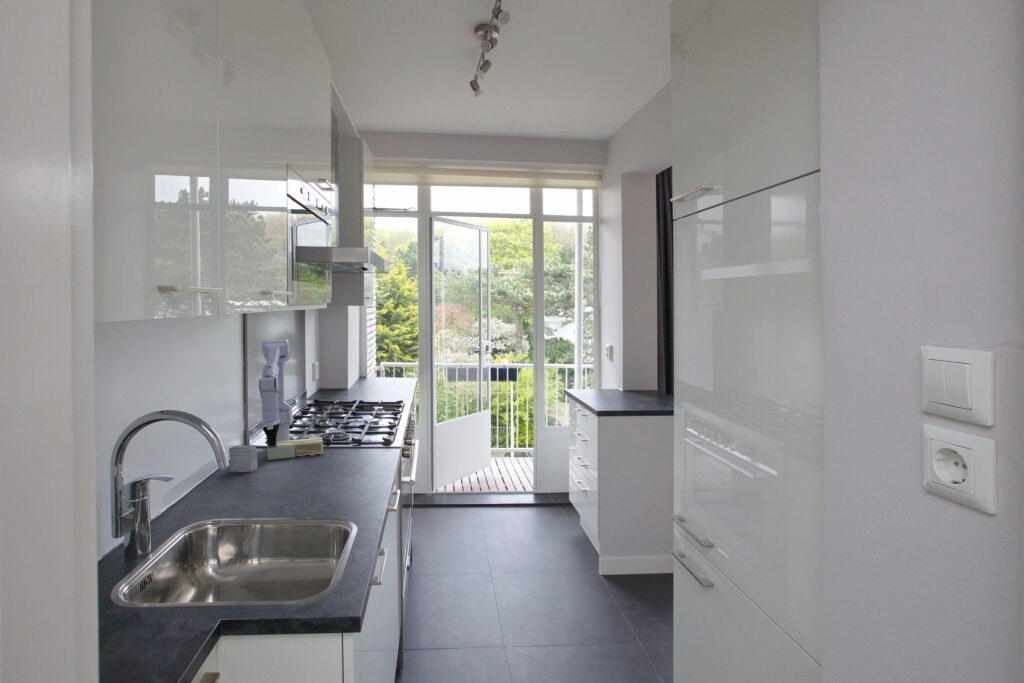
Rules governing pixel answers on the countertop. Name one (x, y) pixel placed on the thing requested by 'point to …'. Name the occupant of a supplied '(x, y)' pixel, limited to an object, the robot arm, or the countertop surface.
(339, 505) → the countertop surface
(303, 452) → the tan rectangular box
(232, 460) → the medicine box
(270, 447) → the side door
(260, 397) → the robot arm
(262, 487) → the countertop surface
